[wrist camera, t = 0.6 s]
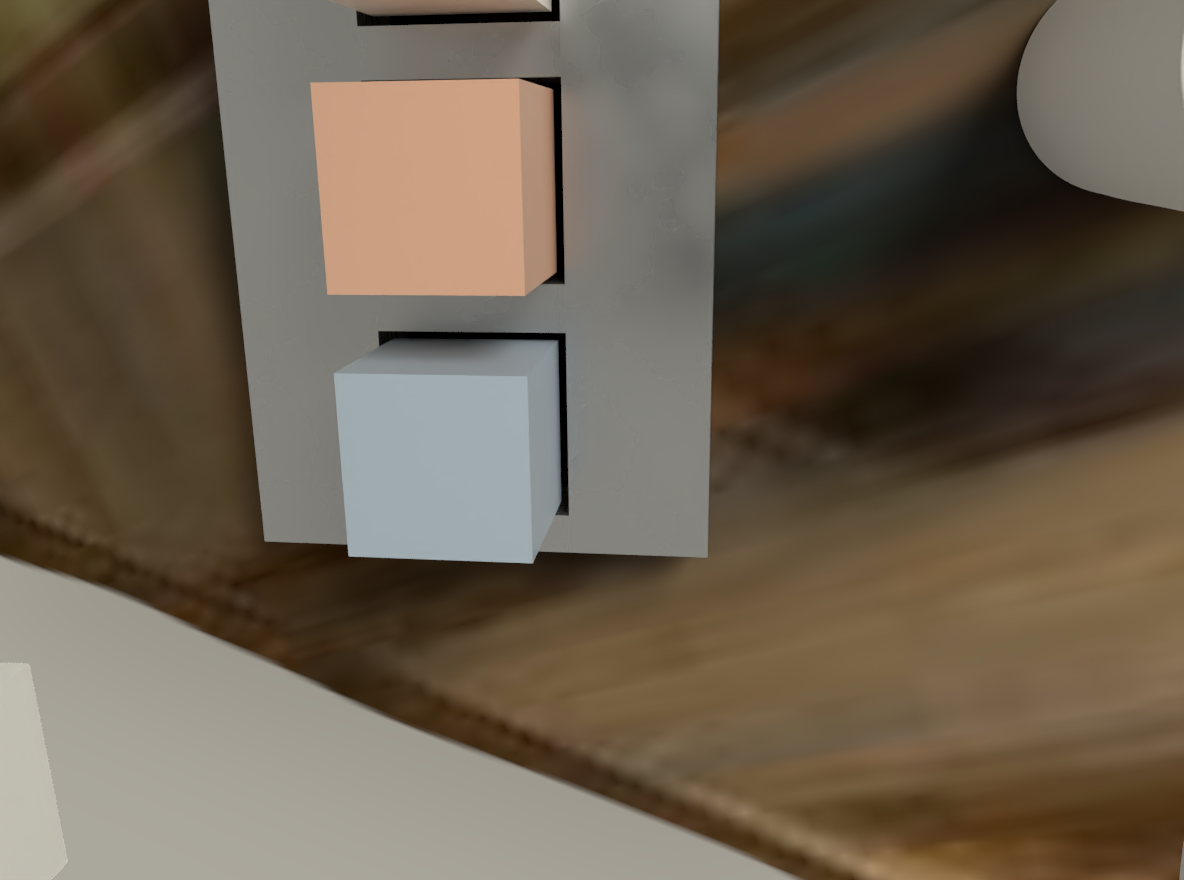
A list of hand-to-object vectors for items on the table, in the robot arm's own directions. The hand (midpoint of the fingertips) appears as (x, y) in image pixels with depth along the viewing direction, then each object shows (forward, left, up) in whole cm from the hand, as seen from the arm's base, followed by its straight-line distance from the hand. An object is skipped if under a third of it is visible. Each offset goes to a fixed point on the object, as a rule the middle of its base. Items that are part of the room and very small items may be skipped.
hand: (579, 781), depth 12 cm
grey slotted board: (-6, -6, -22) cm, 24 cm away
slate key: (+1, -6, -20) cm, 21 cm away
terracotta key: (-6, -6, -20) cm, 21 cm away
